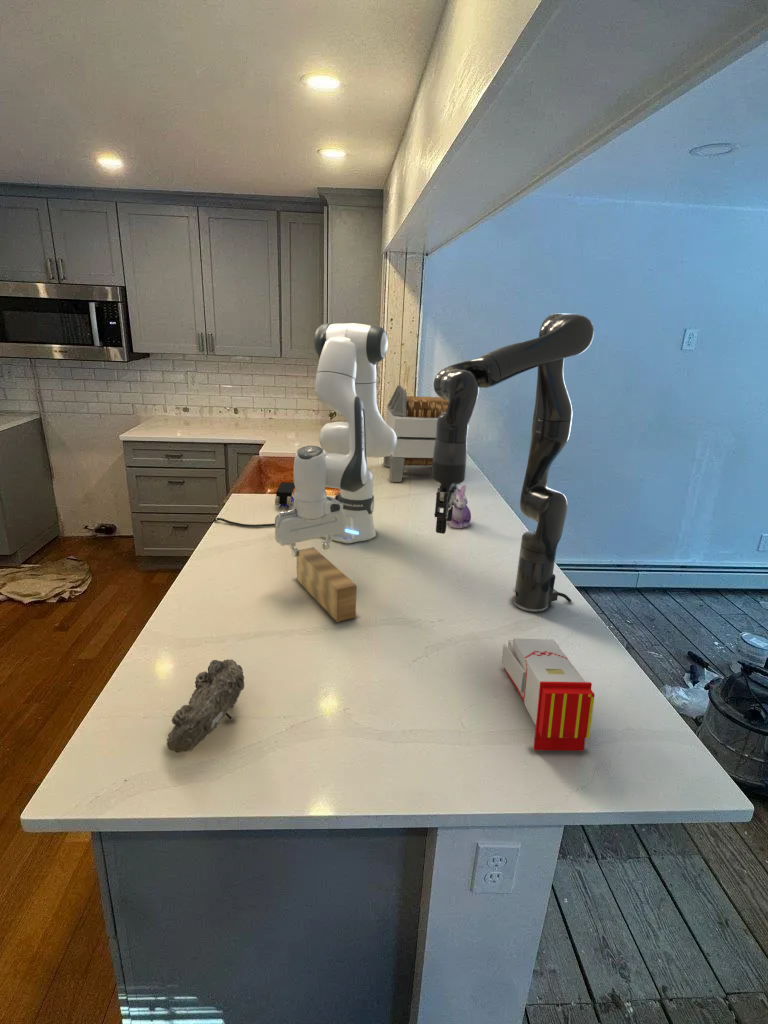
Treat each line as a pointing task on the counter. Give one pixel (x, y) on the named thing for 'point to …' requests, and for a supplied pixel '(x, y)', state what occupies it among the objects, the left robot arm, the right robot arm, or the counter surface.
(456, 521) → the figurine
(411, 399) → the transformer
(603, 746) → the counter surface
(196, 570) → the counter surface
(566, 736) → the toy
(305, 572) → the bar
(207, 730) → the fossil
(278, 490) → the figurine character
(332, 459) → the left robot arm
